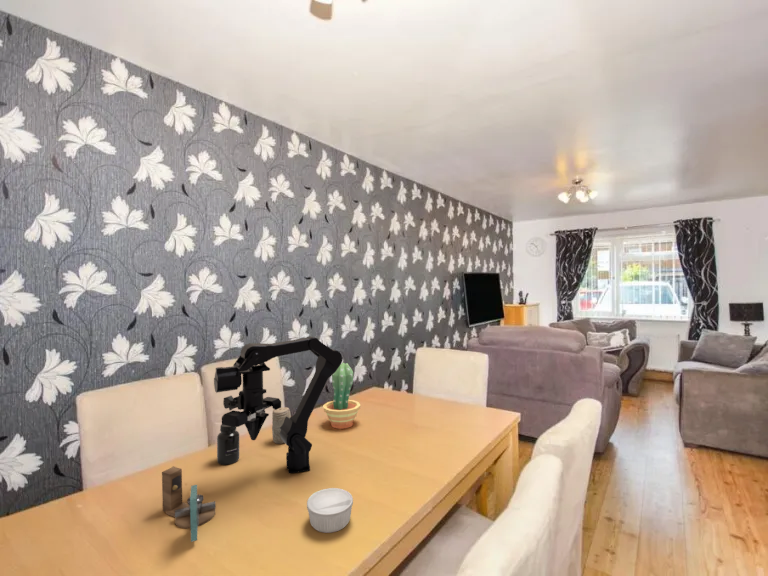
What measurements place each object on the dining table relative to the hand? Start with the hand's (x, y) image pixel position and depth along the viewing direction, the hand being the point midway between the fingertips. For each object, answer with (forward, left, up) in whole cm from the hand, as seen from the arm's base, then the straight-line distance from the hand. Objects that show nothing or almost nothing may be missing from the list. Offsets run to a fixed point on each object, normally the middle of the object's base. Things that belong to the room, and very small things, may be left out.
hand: (253, 439), depth 113 cm
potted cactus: (-32, -37, -12) cm, 50 cm away
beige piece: (-8, -27, -12) cm, 31 cm away
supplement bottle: (+9, -16, -12) cm, 22 cm away
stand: (+15, +13, -12) cm, 23 cm away
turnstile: (+12, +18, -11) cm, 25 cm away
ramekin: (-19, +26, -12) cm, 34 cm away
